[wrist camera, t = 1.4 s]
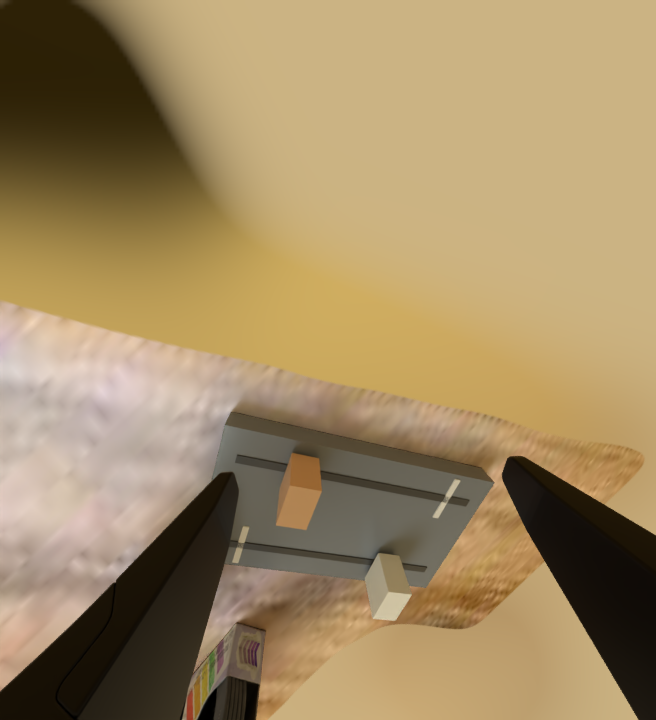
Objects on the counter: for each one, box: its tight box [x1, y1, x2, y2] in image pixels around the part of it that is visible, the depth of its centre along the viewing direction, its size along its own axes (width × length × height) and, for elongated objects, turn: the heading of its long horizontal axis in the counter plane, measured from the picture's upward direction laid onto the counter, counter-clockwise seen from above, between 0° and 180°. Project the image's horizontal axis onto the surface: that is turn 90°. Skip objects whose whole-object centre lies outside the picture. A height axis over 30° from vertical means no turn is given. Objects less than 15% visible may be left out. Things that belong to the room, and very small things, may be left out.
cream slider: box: [365, 553, 412, 621], centre depth 27 cm, size 4×2×4 cm, turn 162°
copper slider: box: [276, 453, 322, 530], centre depth 21 cm, size 4×2×4 cm, turn 162°
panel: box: [212, 412, 494, 588], centre depth 27 cm, size 16×26×2 cm, turn 72°
